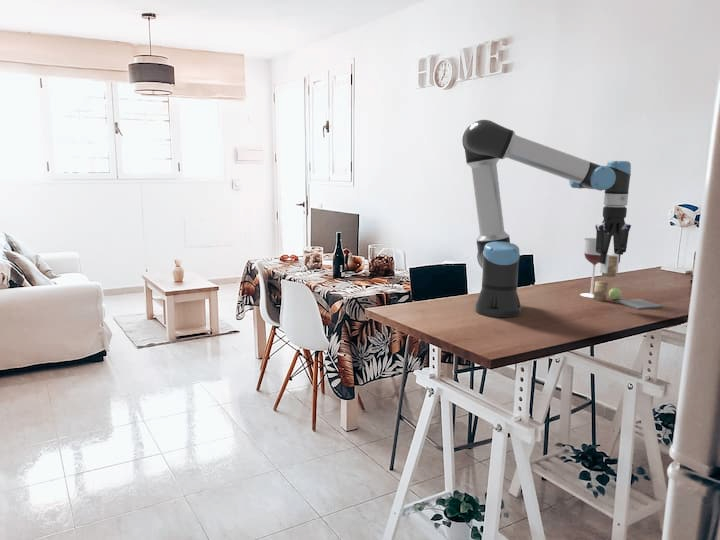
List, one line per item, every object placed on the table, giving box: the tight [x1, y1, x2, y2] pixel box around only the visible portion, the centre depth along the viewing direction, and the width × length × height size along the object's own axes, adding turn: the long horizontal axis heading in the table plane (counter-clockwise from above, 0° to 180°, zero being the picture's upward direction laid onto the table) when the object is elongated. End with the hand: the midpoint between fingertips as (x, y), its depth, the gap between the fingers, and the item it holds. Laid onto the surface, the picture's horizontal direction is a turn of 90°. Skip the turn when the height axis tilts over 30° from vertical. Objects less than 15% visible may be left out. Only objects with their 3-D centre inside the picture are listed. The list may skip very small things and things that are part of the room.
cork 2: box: [601, 254, 617, 278], centre depth 199 cm, size 4×4×7 cm
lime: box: [608, 287, 623, 301], centre depth 213 cm, size 5×5×5 cm
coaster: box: [614, 298, 663, 310], centre depth 206 cm, size 11×11×1 cm
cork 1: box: [593, 280, 609, 302], centre depth 212 cm, size 4×4×7 cm
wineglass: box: [579, 237, 601, 299], centre depth 218 cm, size 9×10×22 cm
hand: (608, 272), depth 199 cm, fingers closed on cork 2, 4 cm apart
